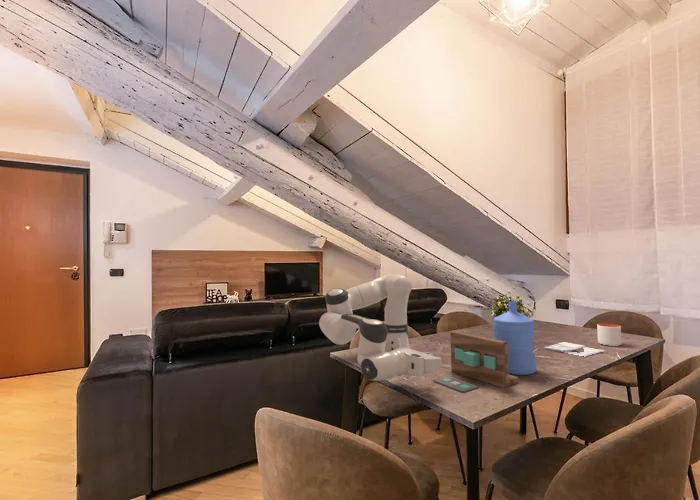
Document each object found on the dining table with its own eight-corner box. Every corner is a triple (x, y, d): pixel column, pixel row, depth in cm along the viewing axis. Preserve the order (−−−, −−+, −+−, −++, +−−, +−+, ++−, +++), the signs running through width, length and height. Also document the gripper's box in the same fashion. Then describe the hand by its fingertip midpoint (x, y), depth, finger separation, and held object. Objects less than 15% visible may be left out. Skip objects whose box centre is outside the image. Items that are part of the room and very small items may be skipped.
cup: (626, 346, 184) (625, 326, 184) (606, 347, 184) (605, 327, 184) (612, 342, 194) (611, 323, 194) (593, 342, 194) (592, 323, 194)
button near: (494, 369, 132) (494, 357, 132) (484, 366, 136) (483, 355, 136) (506, 366, 136) (505, 354, 136) (495, 363, 139) (495, 352, 140)
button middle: (473, 366, 136) (472, 354, 136) (463, 364, 140) (463, 352, 140) (485, 363, 140) (484, 352, 140) (475, 360, 144) (475, 349, 144)
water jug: (516, 378, 140) (514, 305, 141) (486, 367, 154) (484, 301, 155) (544, 372, 146) (542, 302, 147) (513, 362, 160) (511, 298, 161)
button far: (463, 361, 144) (463, 350, 144) (454, 358, 147) (454, 347, 147) (475, 358, 147) (474, 347, 148) (466, 356, 151) (466, 345, 151)
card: (463, 392, 126) (463, 390, 126) (433, 381, 138) (433, 379, 138) (478, 388, 130) (478, 385, 130) (448, 377, 142) (448, 375, 142)
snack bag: (565, 345, 192) (565, 340, 192) (607, 353, 174) (607, 348, 174) (542, 350, 183) (542, 345, 183) (584, 359, 165) (584, 354, 165)
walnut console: (503, 387, 130) (502, 342, 130) (451, 371, 150) (450, 332, 151) (518, 382, 135) (517, 339, 135) (466, 367, 155) (465, 329, 155)
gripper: (385, 363, 138) (413, 357, 145) (424, 377, 120) (452, 370, 128) (385, 346, 138) (412, 341, 145) (423, 358, 121) (452, 352, 128)
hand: (431, 355), depth 136 cm, fingers closed
